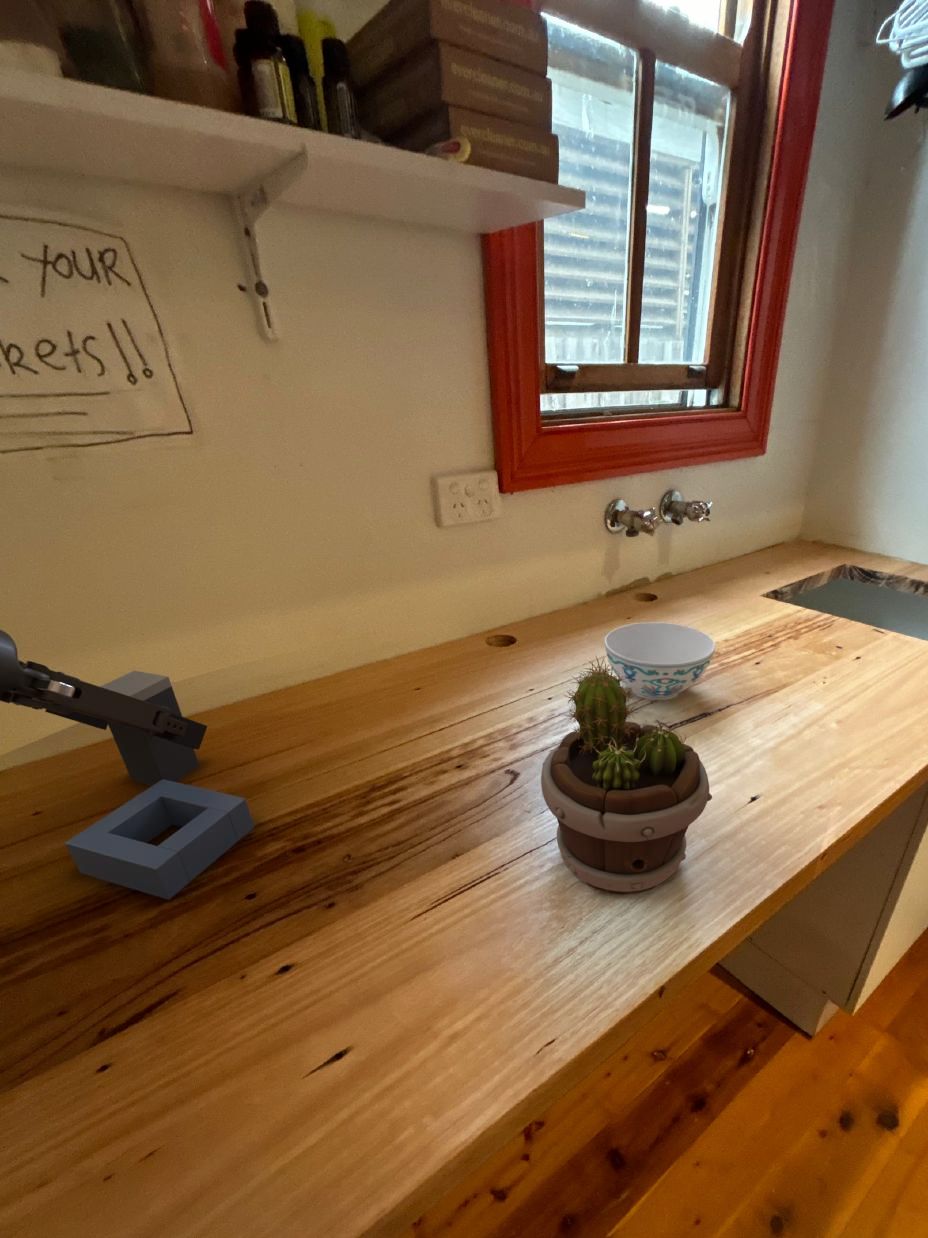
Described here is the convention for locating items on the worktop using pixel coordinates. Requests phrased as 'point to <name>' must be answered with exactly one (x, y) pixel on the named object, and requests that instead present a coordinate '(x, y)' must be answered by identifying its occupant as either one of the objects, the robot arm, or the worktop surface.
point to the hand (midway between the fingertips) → (153, 727)
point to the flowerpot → (621, 791)
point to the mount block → (170, 866)
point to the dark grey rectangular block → (138, 753)
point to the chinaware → (658, 657)
